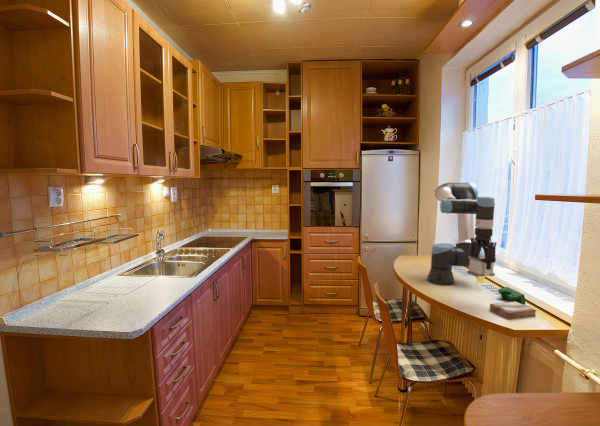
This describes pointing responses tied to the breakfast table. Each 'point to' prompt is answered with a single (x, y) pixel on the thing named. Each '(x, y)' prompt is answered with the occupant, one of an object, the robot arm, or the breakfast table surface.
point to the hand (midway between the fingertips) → (480, 273)
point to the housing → (478, 266)
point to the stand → (512, 310)
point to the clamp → (511, 295)
